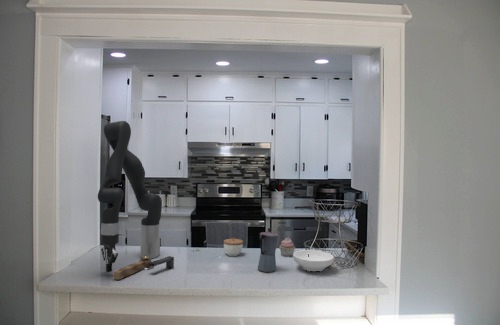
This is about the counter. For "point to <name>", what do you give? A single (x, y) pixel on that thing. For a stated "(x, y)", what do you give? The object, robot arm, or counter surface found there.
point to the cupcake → (287, 247)
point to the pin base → (147, 259)
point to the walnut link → (131, 269)
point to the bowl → (313, 259)
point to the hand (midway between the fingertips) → (108, 271)
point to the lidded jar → (233, 246)
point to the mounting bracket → (198, 249)
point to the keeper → (167, 260)
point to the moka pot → (268, 251)
